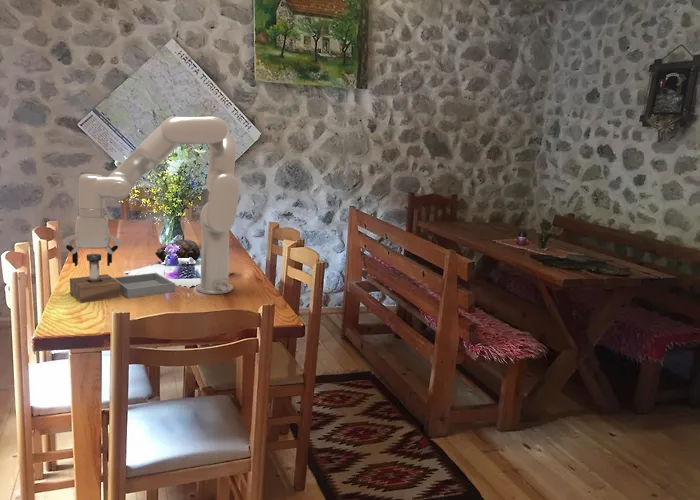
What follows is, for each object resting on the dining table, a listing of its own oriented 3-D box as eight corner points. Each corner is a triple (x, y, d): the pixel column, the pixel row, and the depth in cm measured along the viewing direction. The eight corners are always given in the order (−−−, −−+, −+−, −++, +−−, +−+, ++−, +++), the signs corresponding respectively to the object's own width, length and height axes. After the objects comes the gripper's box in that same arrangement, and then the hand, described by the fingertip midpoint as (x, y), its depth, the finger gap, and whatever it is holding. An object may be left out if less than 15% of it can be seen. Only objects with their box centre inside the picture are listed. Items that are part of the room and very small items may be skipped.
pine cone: (154, 261, 241) (154, 237, 239) (198, 260, 248) (198, 237, 246) (156, 267, 232) (156, 243, 230) (202, 266, 239) (202, 242, 237)
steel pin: (104, 296, 192) (103, 255, 189) (90, 297, 189) (88, 257, 186) (99, 292, 195) (98, 253, 192) (85, 294, 192) (84, 254, 190)
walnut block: (120, 297, 192) (119, 282, 191) (81, 302, 184) (80, 287, 183) (107, 288, 200) (107, 274, 199) (70, 293, 193) (69, 278, 192)
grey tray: (174, 291, 202) (174, 283, 201) (128, 298, 191) (128, 289, 191) (156, 280, 214) (156, 272, 213) (111, 286, 203) (111, 277, 203)
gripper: (121, 212, 193) (121, 262, 196) (63, 210, 187) (64, 262, 190) (121, 215, 186) (120, 267, 190) (60, 214, 180) (61, 268, 183)
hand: (92, 265), depth 190 cm, fingers open, 9 cm apart
